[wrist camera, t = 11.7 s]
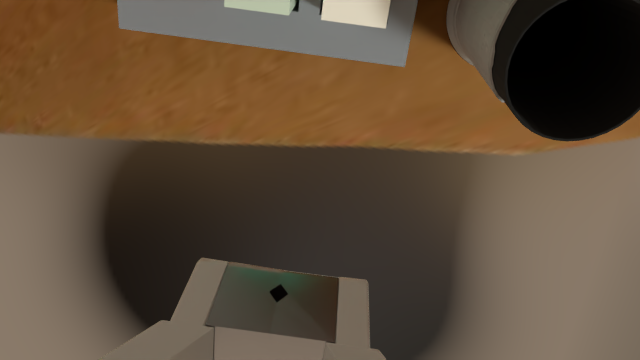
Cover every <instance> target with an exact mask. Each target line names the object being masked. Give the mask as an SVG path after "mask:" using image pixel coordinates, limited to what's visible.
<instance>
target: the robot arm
mask: <svg viewBox="0 0 640 360" xmlns="http://www.w3.org/2000/svg"><path fill="white" fill-rule="evenodd" d="M99 360H386V359H385V357H384V356H383V355H382V353H381V352H380V351H379V350H376V349H370V331H369V295H368V282H367V281H366V280H362V279H354V278H345V277H339V278H338V277H330V276H322V275H314V274H307V273H299V272H291V271H284V270H279V269H273V268H266V267H260V266H253V265H248V264H241V263H235V262H227V261H219V260H213V259H206V258H201V259H200V260H199V261H198V262H197V264H196V266H195V268H194V270H193V272H192V275H191V277H190V279H189V281H188V283H187V285H186V288H185V290H184V292H183V294H182V296H181V299H180V301H179V303H178V305H177V308H176V310H175V312H174V314H173V316H172V318H171V320H170V321H163V320H161V321H160V322H158V323H156V324H155V325H153V326H152V327H150V328H148V329H147V330H145V331H143V332H142V333H140V334H139V335H137V336H135V337H134V338H132V339H131V340H129V341H127V342H126V343H124V344H123V345H121V346H119V347H118V348H116V349H115V350H113V351H111V352H110V353H108V354H107V355H105V356H103V357H102V358H100V359H99Z"/></svg>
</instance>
